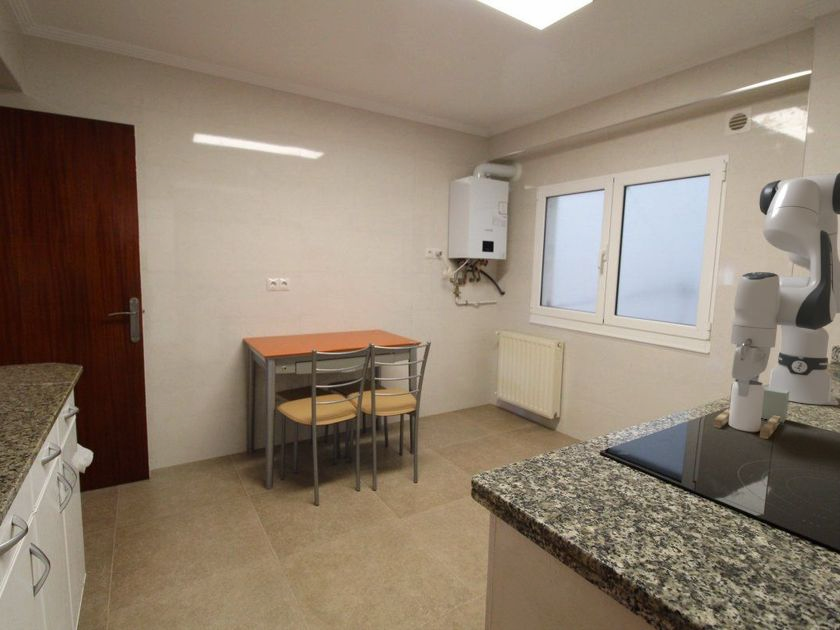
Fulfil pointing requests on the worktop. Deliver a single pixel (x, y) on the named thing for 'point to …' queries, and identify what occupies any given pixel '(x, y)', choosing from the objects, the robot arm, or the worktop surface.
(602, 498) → the worktop surface
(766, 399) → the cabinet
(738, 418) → the can
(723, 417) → the rails
